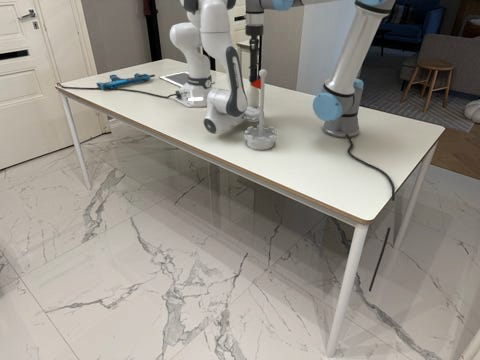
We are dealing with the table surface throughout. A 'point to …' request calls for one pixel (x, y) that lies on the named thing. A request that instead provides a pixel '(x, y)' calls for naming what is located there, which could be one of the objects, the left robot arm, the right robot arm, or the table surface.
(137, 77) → the submachine gun
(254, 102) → the bottle
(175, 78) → the tablet
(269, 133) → the flag stand
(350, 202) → the table surface
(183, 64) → the table surface
